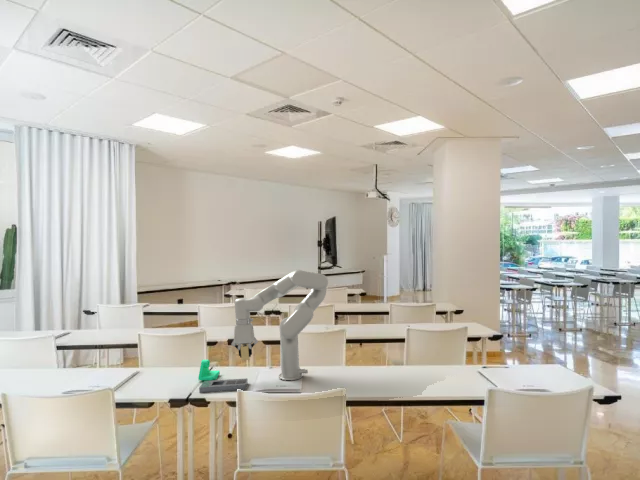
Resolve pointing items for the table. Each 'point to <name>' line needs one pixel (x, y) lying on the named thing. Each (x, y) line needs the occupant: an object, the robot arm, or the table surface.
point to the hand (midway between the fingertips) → (245, 356)
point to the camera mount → (207, 371)
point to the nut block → (245, 352)
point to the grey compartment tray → (223, 385)
